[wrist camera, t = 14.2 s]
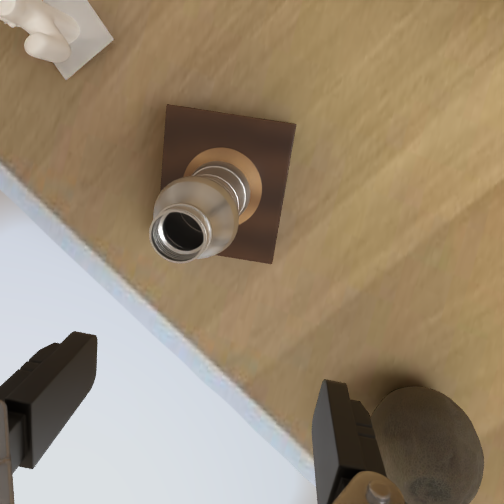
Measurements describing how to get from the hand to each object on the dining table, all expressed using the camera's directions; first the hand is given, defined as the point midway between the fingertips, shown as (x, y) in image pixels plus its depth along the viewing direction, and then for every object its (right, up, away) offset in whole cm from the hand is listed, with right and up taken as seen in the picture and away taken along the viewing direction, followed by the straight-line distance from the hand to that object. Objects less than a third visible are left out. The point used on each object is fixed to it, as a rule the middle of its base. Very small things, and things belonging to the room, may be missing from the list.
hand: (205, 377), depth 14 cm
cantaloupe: (+24, -19, +45) cm, 54 cm away
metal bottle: (-2, +12, +30) cm, 32 cm away
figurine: (-18, +30, +32) cm, 47 cm away
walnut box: (-1, +13, +36) cm, 38 cm away
